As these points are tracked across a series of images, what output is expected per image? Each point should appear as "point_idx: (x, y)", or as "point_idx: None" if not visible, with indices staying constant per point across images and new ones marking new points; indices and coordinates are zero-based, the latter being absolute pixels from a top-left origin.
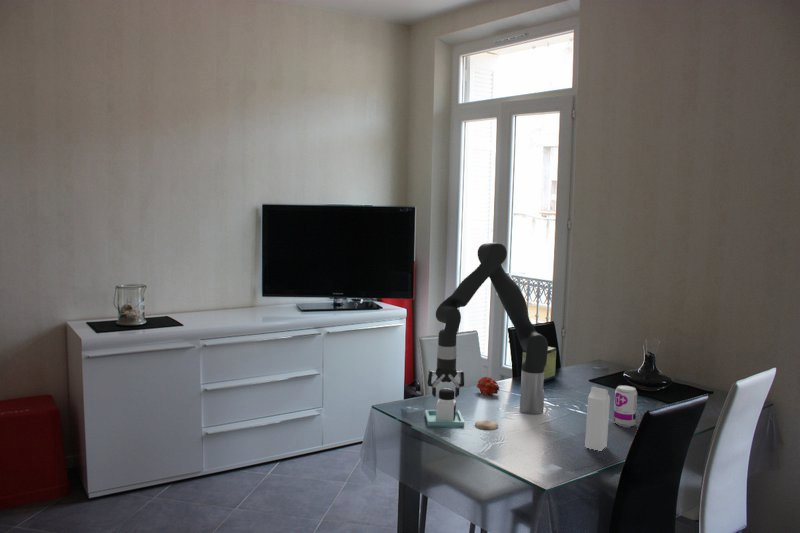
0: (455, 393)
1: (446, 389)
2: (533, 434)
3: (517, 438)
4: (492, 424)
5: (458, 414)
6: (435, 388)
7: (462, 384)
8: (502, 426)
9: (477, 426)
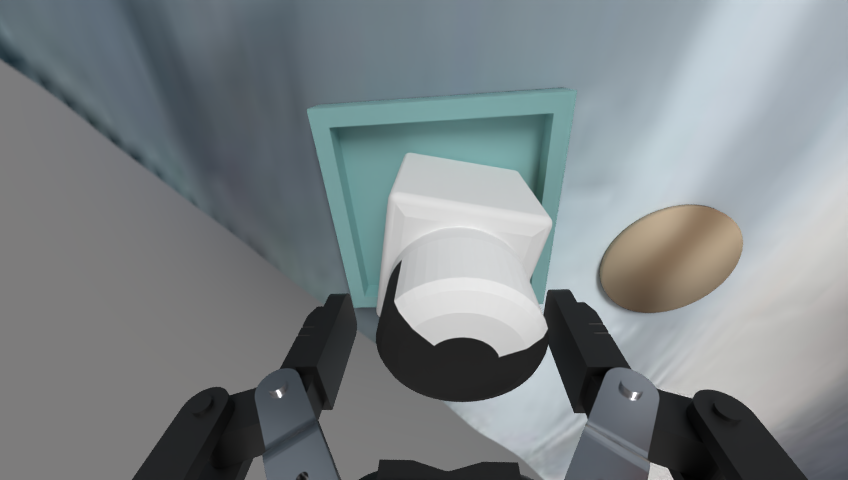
0: (554, 334)
1: (459, 354)
2: (841, 341)
3: (727, 375)
4: (705, 263)
5: (544, 173)
6: (327, 405)
7: (693, 475)
8: (754, 263)
9: (605, 290)
